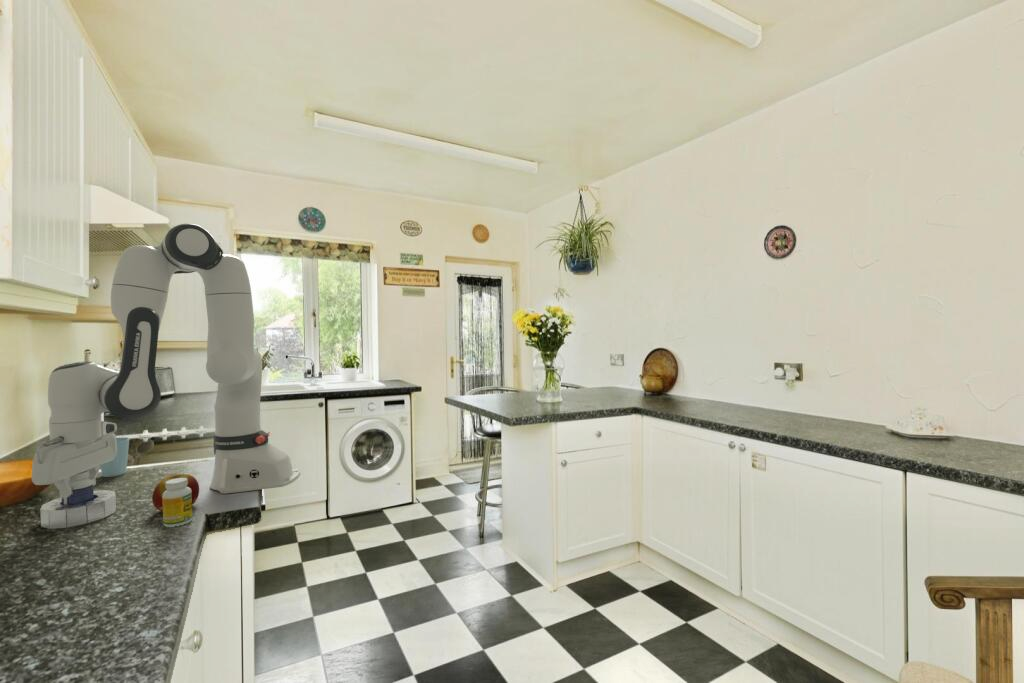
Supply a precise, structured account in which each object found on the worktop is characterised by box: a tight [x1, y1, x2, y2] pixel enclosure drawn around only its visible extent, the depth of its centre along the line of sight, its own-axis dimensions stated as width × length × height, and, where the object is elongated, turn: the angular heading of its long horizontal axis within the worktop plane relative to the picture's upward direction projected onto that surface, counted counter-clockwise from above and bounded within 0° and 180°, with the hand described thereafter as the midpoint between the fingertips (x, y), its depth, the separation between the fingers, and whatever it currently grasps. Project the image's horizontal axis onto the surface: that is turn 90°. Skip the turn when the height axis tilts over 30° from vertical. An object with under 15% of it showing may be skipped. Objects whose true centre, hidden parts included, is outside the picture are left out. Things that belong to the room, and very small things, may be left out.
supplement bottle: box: [162, 478, 194, 528], centre depth 103 cm, size 5×5×10 cm
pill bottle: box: [62, 470, 94, 505], centre depth 107 cm, size 5×5×10 cm
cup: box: [99, 436, 130, 478], centre depth 140 cm, size 8×8×10 cm
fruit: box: [151, 473, 200, 512], centre depth 111 cm, size 10×9×8 cm
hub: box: [39, 489, 117, 530], centre depth 107 cm, size 12×12×4 cm
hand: (78, 491), depth 107 cm, fingers closed on pill bottle, 5 cm apart
